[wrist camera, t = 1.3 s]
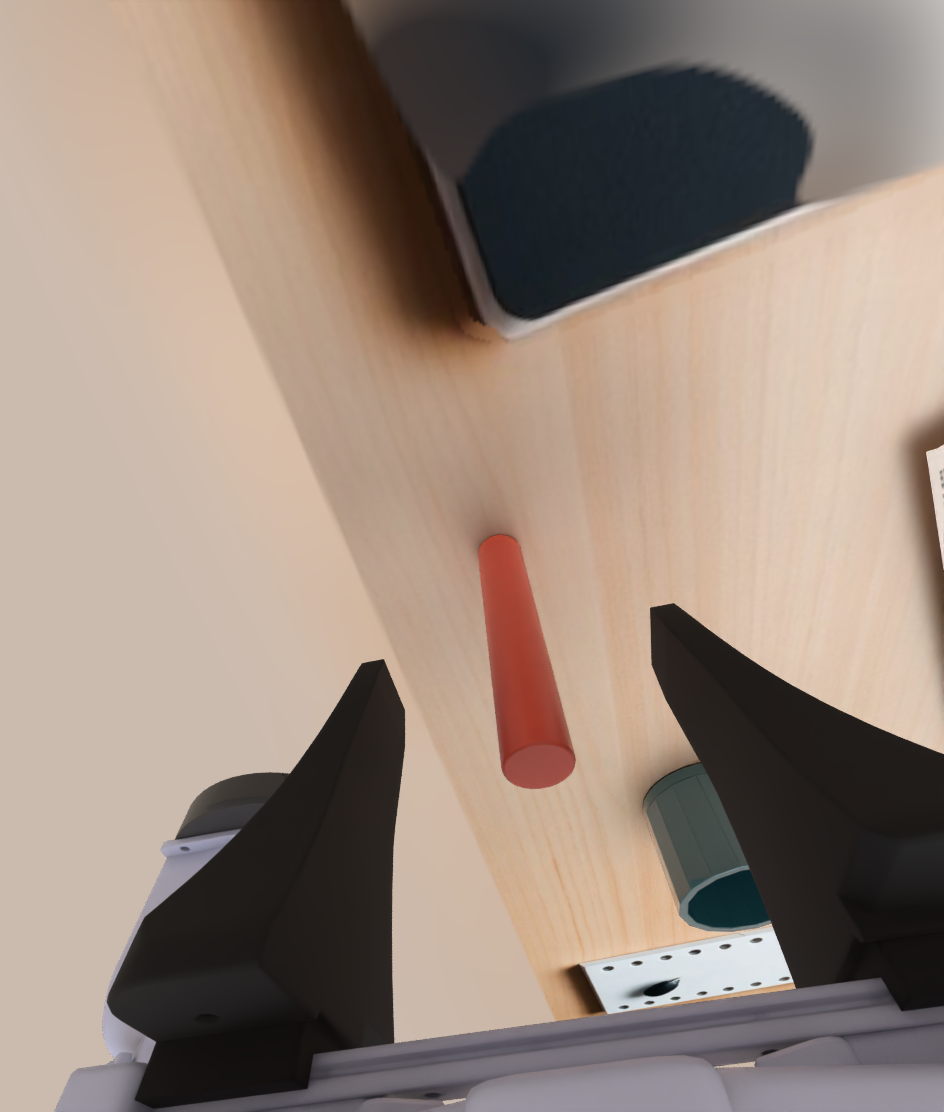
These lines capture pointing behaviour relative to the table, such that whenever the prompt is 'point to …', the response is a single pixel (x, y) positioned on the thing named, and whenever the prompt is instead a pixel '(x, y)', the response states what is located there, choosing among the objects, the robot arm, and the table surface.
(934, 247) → the table surface
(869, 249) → the table surface
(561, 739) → the red wooden dowel
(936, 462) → the newspaper
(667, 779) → the cup
